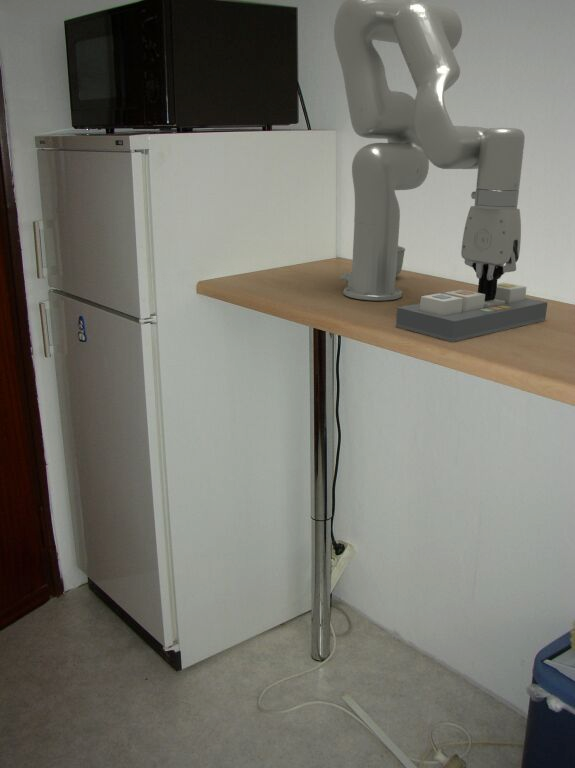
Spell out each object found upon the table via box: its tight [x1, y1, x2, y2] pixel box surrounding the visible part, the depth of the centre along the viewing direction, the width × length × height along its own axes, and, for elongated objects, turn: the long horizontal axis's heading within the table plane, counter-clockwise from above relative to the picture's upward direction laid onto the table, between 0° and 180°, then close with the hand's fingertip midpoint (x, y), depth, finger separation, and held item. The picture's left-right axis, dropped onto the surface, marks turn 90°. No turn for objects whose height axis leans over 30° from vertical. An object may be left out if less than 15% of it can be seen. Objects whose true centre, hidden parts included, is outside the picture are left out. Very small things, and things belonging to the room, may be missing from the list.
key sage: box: [484, 299, 505, 307], centre depth 144 cm, size 5×5×3 cm
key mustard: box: [495, 282, 527, 303], centre depth 148 cm, size 5×5×3 cm
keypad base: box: [395, 297, 548, 343], centre depth 142 cm, size 13×28×4 cm, turn 130°
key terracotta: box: [443, 289, 485, 312], centre depth 140 cm, size 5×5×3 cm
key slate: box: [419, 293, 463, 316], centre depth 136 cm, size 5×5×3 cm
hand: (486, 299), depth 144 cm, fingers closed
